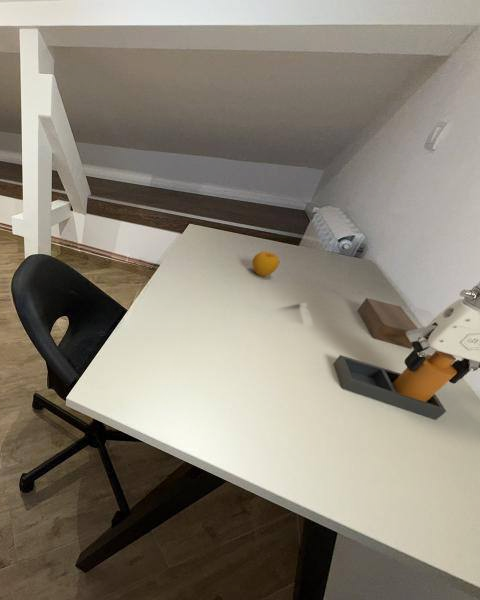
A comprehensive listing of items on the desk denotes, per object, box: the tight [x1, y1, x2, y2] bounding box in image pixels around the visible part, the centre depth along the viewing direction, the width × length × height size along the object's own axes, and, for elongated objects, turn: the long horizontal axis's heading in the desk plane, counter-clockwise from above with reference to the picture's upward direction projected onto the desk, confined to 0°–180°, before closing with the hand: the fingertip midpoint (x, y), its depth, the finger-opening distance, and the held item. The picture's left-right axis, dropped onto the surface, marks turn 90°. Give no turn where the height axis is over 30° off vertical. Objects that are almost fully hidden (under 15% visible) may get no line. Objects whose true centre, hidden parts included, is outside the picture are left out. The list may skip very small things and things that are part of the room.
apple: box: [251, 251, 280, 278], centre depth 115 cm, size 9×8×9 cm
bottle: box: [392, 351, 457, 402], centre depth 66 cm, size 6×6×12 cm
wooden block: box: [357, 297, 422, 349], centre depth 93 cm, size 9×16×5 cm, turn 156°
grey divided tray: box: [333, 354, 447, 421], centre depth 71 cm, size 9×17×4 cm, turn 66°
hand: (428, 372), depth 66 cm, fingers closed on bottle, 6 cm apart
